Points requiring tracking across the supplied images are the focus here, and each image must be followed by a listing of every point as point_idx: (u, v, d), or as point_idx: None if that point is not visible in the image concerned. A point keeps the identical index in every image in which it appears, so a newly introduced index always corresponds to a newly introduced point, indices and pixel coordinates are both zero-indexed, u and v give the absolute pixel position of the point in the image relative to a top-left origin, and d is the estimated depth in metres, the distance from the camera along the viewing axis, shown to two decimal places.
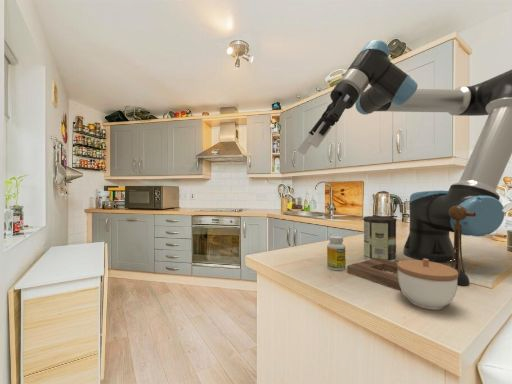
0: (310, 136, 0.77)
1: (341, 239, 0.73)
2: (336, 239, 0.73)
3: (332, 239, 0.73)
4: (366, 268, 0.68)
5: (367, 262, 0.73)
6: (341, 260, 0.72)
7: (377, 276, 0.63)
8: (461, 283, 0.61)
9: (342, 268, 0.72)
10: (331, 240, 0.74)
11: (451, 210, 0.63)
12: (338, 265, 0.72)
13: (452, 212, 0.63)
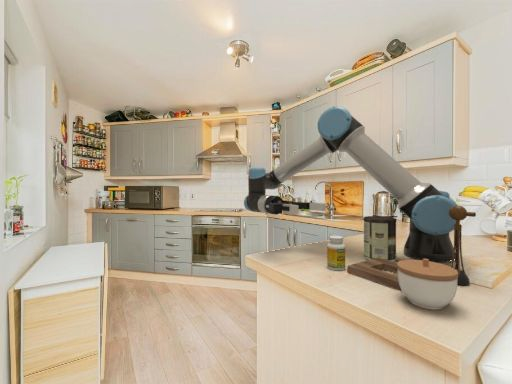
0: (310, 207, 0.91)
1: (341, 239, 0.73)
2: (336, 239, 0.73)
3: (332, 239, 0.73)
4: (366, 268, 0.68)
5: (367, 262, 0.73)
6: (341, 260, 0.72)
7: (377, 276, 0.63)
8: (461, 283, 0.61)
9: (342, 268, 0.72)
10: (331, 240, 0.74)
11: (451, 210, 0.63)
12: (338, 265, 0.72)
13: (452, 212, 0.63)
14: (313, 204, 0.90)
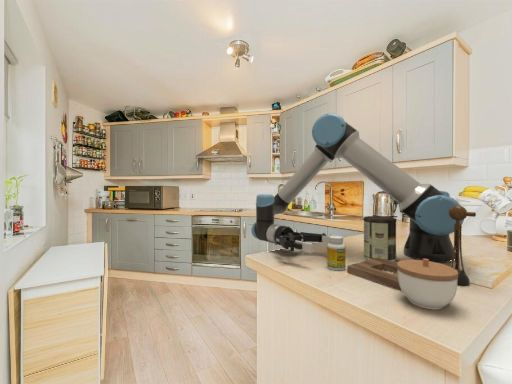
0: (323, 241, 0.86)
1: (341, 239, 0.73)
2: (336, 239, 0.73)
3: (332, 239, 0.73)
4: (366, 268, 0.68)
5: (367, 262, 0.73)
6: (341, 260, 0.72)
7: (377, 276, 0.63)
8: (461, 283, 0.61)
9: (342, 268, 0.72)
10: (331, 240, 0.74)
11: (451, 210, 0.63)
12: (338, 265, 0.72)
13: (452, 212, 0.63)
14: (326, 238, 0.85)
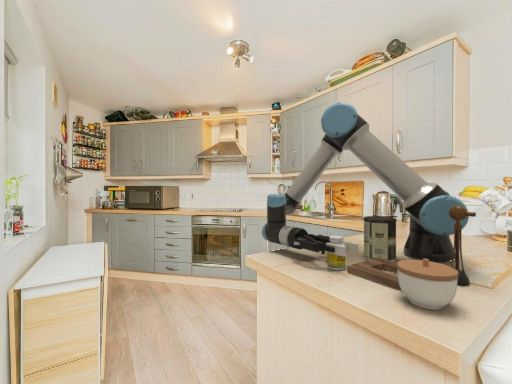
0: None
1: (341, 239, 0.73)
2: (336, 239, 0.73)
3: (332, 239, 0.73)
4: (366, 268, 0.68)
5: (367, 262, 0.73)
6: (341, 260, 0.72)
7: (377, 276, 0.63)
8: (461, 283, 0.61)
9: (342, 268, 0.72)
10: (331, 240, 0.74)
11: (451, 210, 0.63)
12: (338, 265, 0.72)
13: (452, 212, 0.63)
14: (343, 243, 0.76)
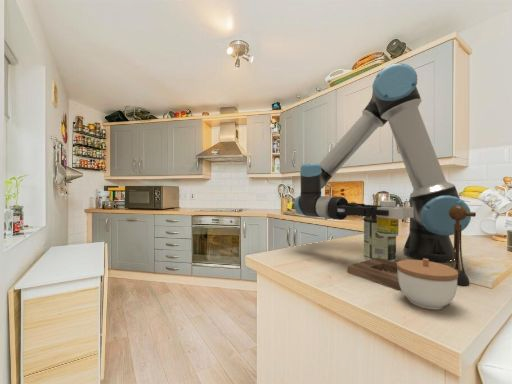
0: None
1: (394, 202, 0.66)
2: (389, 202, 0.66)
3: (384, 203, 0.67)
4: (366, 268, 0.68)
5: (367, 262, 0.73)
6: (394, 225, 0.66)
7: (377, 276, 0.63)
8: (461, 283, 0.61)
9: (396, 234, 0.66)
10: (383, 204, 0.67)
11: (451, 210, 0.63)
12: (391, 230, 0.65)
13: (452, 212, 0.63)
14: None
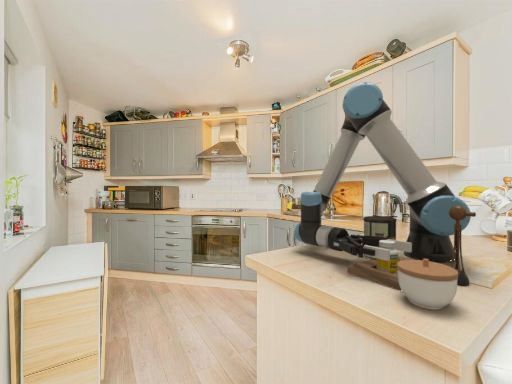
0: None
1: (394, 244, 0.67)
2: (389, 244, 0.66)
3: (383, 244, 0.67)
4: (366, 268, 0.68)
5: (367, 262, 0.73)
6: (394, 267, 0.66)
7: (377, 276, 0.63)
8: (461, 283, 0.61)
9: None
10: (382, 245, 0.67)
11: (451, 210, 0.63)
12: (391, 272, 0.66)
13: (452, 212, 0.63)
14: None
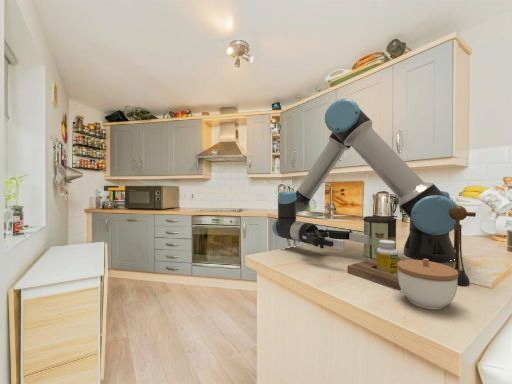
0: (351, 238, 0.84)
1: (394, 244, 0.67)
2: (389, 244, 0.66)
3: (383, 244, 0.67)
4: (366, 268, 0.68)
5: (367, 262, 0.73)
6: (394, 267, 0.66)
7: (377, 276, 0.63)
8: (461, 283, 0.61)
9: None
10: (382, 245, 0.67)
11: (451, 210, 0.63)
12: (391, 272, 0.66)
13: (452, 212, 0.63)
14: (354, 235, 0.83)
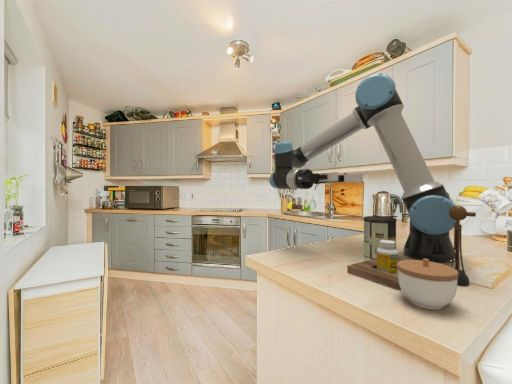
0: (345, 179, 0.86)
1: (394, 244, 0.67)
2: (389, 244, 0.66)
3: (383, 244, 0.67)
4: (366, 268, 0.68)
5: (367, 262, 0.73)
6: (394, 267, 0.66)
7: (377, 276, 0.63)
8: (461, 283, 0.61)
9: None
10: (383, 245, 0.67)
11: (451, 210, 0.63)
12: (391, 272, 0.66)
13: (452, 212, 0.63)
14: (348, 175, 0.85)
